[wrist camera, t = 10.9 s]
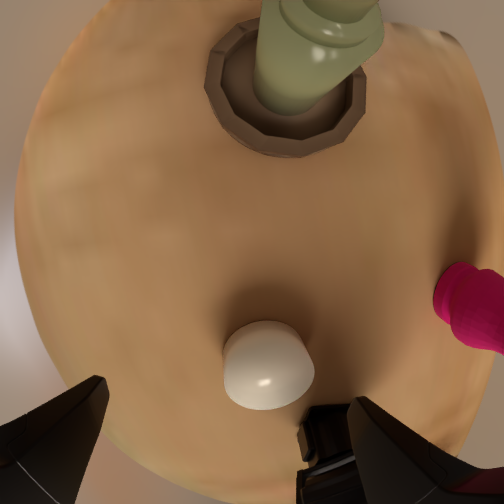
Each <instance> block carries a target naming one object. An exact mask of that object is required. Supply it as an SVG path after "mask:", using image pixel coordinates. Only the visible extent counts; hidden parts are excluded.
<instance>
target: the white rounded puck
mask: <svg viewBox="0 0 504 504" xmlns="http://www.w3.org/2000/svg"><path fill="white" fill-rule="evenodd" d="M223 369H224V386H225V390H226V392H227V394H228V395H229V397H230V398H231V399H232V400H233V401H234V402H236V403H237V404H239V405H241V406H243V407H246V408H250V409H256V410H269V409H276V408H279V407H283V406H285V405H288V404H290V403H292V402H294V401H295V400H297V399H298V398H300V397H301V396H302V395H303V394H304V393H305V392H306V391H307V390H308V388H309V387H310V385H311V384H312V381H313V379H314V372H315V370H314V365H313V362H312V360H311V358H310V356H309V354H308V352H307V350H306V348H305V346H304V344H303V341H302V339H301V337H300V336H299V334H298V333H297V332H296V331H295V330H294V329H293V328H292V327H290V326H289V325H287V324H285V323H282V322H278V321H270V320H267V321H257V322H253V323H250V324H248V325H245V326H243V327H241V328H240V329H238V330H237V331H236V332H235V333H233V334H232V335H231V337H230V338H229V339H228V341H227V342H226V344H225V347H224V350H223Z"/></svg>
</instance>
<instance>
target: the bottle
mask: <svg viewBox="0 0 504 504" xmlns="http://www.w3.org/2000/svg"><path fill="white" fill-rule="evenodd" d="M378 1H379V0H263V1H262V8H261V16H260V23H259V31H258V39H257V47H256V55H255V64H254V72H253V82H252V86H253V91H254V94H255V96H256V98H257V100H258V101H259V102H260V103H261V104H262V105H263V106H264V107H265V108H266V109H268V110H269V111H271V112H273V113H276V114H279V115H283V116H296V115H300V114H303V113H305V112H307V111H309V110H310V109H311V108H312V107H314V106H315V105H316V104H317V103H318V102H319V101H320V100H321V99H322V98H323V97H324V96H326V95H327V94H328V93H329V92H330V91H331V90H332V89H333V88H335V87H336V86H337V85H338V84H339V83H340V82H341V81H342V80H344V79H345V78H346V77H347V76H348V75H349V74H351V73H352V72H353V71H354V70H355V69H356V68H358V67H359V66H360V65H361V64H362V63H364V62H365V61H366V60H367V59H368V58H370V57H371V56H372V55H373V54H374V53H375V52H376V51H378V49H379V48H380V46H381V45H382V42H383V39H384V26H383V22H382V19H381V11H380V8H379V5H378V3H377V2H378Z"/></svg>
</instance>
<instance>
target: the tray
mask: <svg viewBox="0 0 504 504" xmlns="http://www.w3.org/2000/svg"><path fill="white" fill-rule="evenodd" d="M259 23H260V17H259V18H256V19H252V20H248V21H245V22H242V23H238V24H236V25H235V26H234V27H233V28H232V29H231V30H230V31H229V32H228V33H227V34H226V35H225V36H224V37H223V38H222V39H221V40H220V41H219V42H218V43H217V44H216V45H215V46H214V47H213V48H212V49H211V50H210V55H209V61H208V66H207V72H206V78H205V84H204V89H205V91H206V93H207V95H208V97H209V101H210V104H211V106H212V109H213V112H214V114H215V116H216V117H217V119H218V121H219V122H220V124H221V125H222V127H223V128H224V129H225V130H226V131H227V132H228V133H229V134H230V135H231V136H232V137H233V138H234V139H236V140H237V141H238V142H239V143H241V144H243V145H244V146H246V147H248V148H250V149H252V150H254V151H256V152H259V153H262V154H265V155H269V156H274V157H283V158H295V157H297V158H301V157H304V156H308V155H311V154H314V153H318V152H320V151H322V150H325V149H327V148H329V147H331V146H334V145H336V144H339V143H342V142H344V140H345V139H346V138H347V136H348V135H349V134H350V132H351V131H352V129H353V128H354V127H355V125H356V124H357V123H358V121H359V120H360V119H361V117H362V116H363V115H364V113H365V105H366V75H365V73H364V71H363V69H362V67H361V66H359V67H358V68H356V69H355V70H354V71H353V72H352V73H351V74H349V75H348V76H347V77H346V78H345V79H344V80H342V81H341V82H340V83H339V84H338V85H337V86H336V87H335V88H333V89H332V90H331V91H330V92H329V93H328V94H327V95H326V96H324V97H323V98H322V99H321V100H320V101H319V102H318V103H317V104H316V105H315V106H314V107H312V108H311V109H310V110H309V111H307V112H305V113H303V114H300V115H296V116H283V115H279V114H276V113H273V112H271V111H269V110H268V109H266V108H265V107H264V106H263V105H262V104H261V103H260V102H259V101H258V100H257V98H256V96H255V94H254V91H253V86H252V82H253V72H254V64H255V55H256V47H257V39H258V31H259Z"/></svg>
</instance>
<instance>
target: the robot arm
mask: <svg viewBox="0 0 504 504" xmlns="http://www.w3.org/2000/svg"><path fill="white" fill-rule="evenodd" d="M108 401H109V390H108V386H107V382H106V379H105V378H104V377H101V376H98V375H93V376H91V377H90V378H88V379H86V380H85V381H83V382H81V383H79V384H78V385H76V386H74V387H72V388H71V389H69V390H67V391H66V392H64V393H62V394H60V395H58V396H57V397H55V398H53V399H51V400H50V401H48V402H46V403H45V404H42V405H41V406H39V407H37V408H35V409H34V410H32V411H30V412H28V413H27V414H24V415H22V416H21V417H19V418H17V419H15V420H13V421H11V422H9V423H6V424H4V425H2V426H0V504H75V500H76V497H77V494H78V491H79V488H80V485H81V482H82V479H83V476H84V474H85V471H86V467H87V465H88V462H89V460H90V457H91V454H92V452H93V449H94V446H95V444H96V441H97V438H98V436H99V433H100V430H101V427H102V423H103V419H104V415H105V412H106V408H107V405H108ZM297 436H298V442H299V446H300V451H301V456H302V460H303V461H304V462H308V466H309V468H307V469H304V470H303V469H302V470H299V471H297V478H296V504H504V467H499V468H492V469H480V468H477V467H474V466H472V465H470V464H468V463H466V462H464V461H462V460H459V459H458V458H456V457H454V456H452V455H450V454H448V453H446V452H445V451H443V450H441V449H440V448H438V447H437V446H435V445H434V444H432V443H431V442H428V441H427V440H426V439H425V438H423V437H422V436H420V435H419V434H417V433H416V432H414V431H413V430H411V429H410V428H409V427H407V426H406V425H404V424H403V423H401V422H400V421H399V420H397V419H396V418H394V417H393V416H392V415H390V414H389V413H387V412H386V411H385V410H383V409H382V408H381V407H379V406H378V405H377V404H375V403H374V402H372V401H371V400H370V399H368V398H367V397H365V396H360V397H355V398H354V399H353V401H352V403H351V404H342V405H329V406H313V407H311V408H309V410H308V413H307V416H306V418H305V421H303V422H302V424H301V427H300V429H299V432H298V434H297Z"/></svg>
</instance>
